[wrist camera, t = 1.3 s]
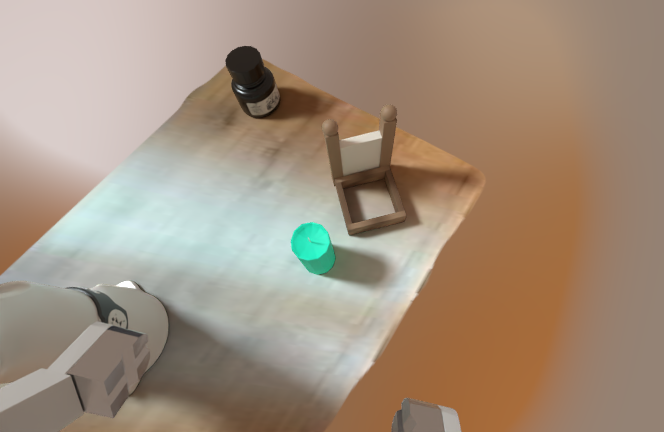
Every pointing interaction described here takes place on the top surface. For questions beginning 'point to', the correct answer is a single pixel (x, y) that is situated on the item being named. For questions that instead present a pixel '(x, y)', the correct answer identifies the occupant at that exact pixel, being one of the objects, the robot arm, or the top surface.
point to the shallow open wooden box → (365, 178)
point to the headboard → (361, 146)
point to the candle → (313, 247)
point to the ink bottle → (252, 82)
